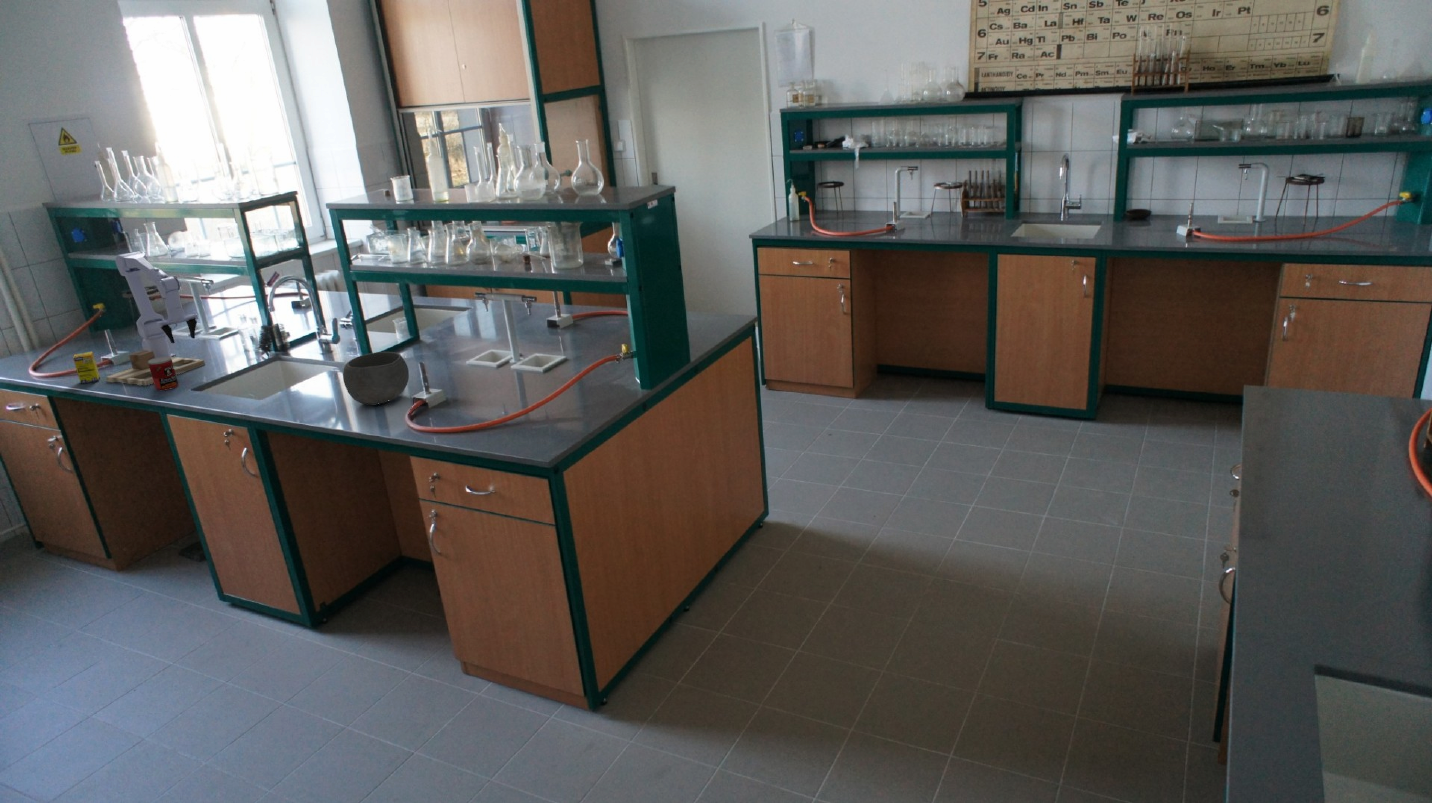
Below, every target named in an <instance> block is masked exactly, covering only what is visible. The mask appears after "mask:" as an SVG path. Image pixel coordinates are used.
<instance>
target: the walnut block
mask: <svg viewBox="0 0 1432 803" xmlns="http://www.w3.org/2000/svg"><path fill="white" fill-rule="evenodd" d="M128 356H129V360H130V364H131V368H133V369H138V370H145V369H148V368H149V364H148V361H149V360H151V359H154V358H155V356H154V352H153V351H148V350H143V349H142V350H138V351H135V352H132V353H130V354H128Z"/></svg>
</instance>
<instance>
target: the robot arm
mask: <svg viewBox="0 0 1432 803" xmlns="http://www.w3.org/2000/svg"><path fill="white" fill-rule="evenodd" d="M115 265H116V267H117V269H118V272H119V274H120V276H122V277H125V279H126V282H127V284H128V287H129V289H130V292H131V294H132V296H133V298H134V301H135V304H136V306H137V309H138V311H139V314H140V316H139V318H138V319H137V320H136V323H135V324H136V326H137V327H136V328H137V332H138V334H139V336H140V337H141V338H142V341H141V346H142V350H148V351H153V352H154V356H155V358H157V357H164V356H168V357H176V353H171V350H170V347H169V343H168V340H169V341H170V343H171V344H175V343H176V342H175V339H174V336H173V335H174V334H173V330H172V327H171V326H170V325H176V324H181V323H185V322H186V325H187V327H188V330H189V334H190V338H191V339H195V338H196V327H197V324H198V321H197V320H199V316H198V314H197V313H193V314H187V315H185V311H184V308H183V303H182V301H181V297H180V293H179V291H180V289H181V284H180V281H179V279H178V277H177V276H175V275H168V274H167V273H166V272H165V271H163V270H162V269H161V268H159V267H155V266H153V264H151V263H150V262H149V259H148V256H147V254H146V253H145V252H144V251H143V250H138V251H133V252H128V253H121V254H117V255H116V256H115ZM141 273H145V274H146V277H147V279H148V280H149V281H150V282H152V283H153V284H154V285H155V286H156V289H157V290H158V292H159V294H160V296H161V298H162V299H163V302H164V305H165V306H164V307H165V310H166V313H167V319H165V318H164V316H163V315H162V314H160V313H158V312H156V311H155V310H154V307H153V305H152V303H151V300H150V298H149V296H148V295H149V294H148V292H147V290H146V287H145V286H144V284H143V280H142V279H141ZM167 338H168V340H167Z"/></svg>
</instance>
